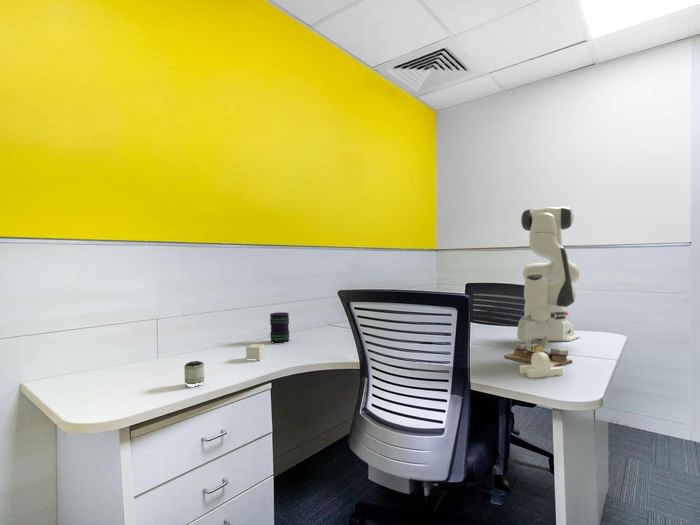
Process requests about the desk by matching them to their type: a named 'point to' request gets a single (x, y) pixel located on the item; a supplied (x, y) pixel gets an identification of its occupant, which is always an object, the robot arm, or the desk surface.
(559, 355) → the angled shaft stand
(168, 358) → the desk surface
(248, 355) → the cream cube
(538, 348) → the coupler
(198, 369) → the camera lens
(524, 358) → the bench
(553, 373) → the slotted bracket
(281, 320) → the storage jar
